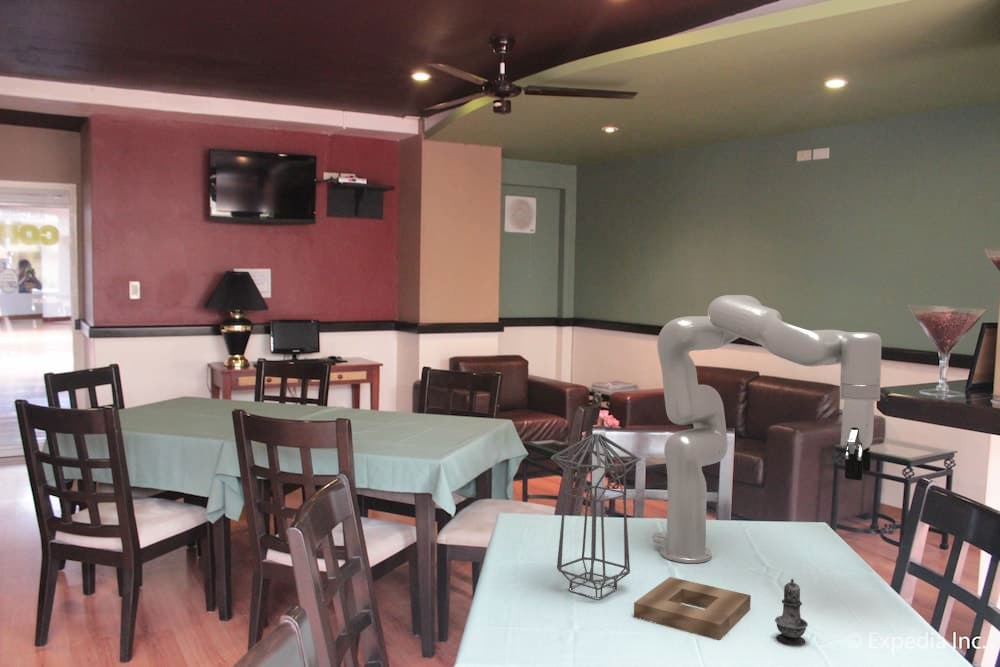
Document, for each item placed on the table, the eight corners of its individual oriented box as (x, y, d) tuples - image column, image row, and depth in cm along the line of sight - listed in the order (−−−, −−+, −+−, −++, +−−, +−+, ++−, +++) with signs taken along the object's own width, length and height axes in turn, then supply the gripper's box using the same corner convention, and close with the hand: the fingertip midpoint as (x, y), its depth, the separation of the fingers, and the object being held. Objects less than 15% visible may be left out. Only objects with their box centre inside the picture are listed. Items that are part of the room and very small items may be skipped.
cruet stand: (633, 617, 162) (634, 602, 162) (669, 590, 177) (669, 576, 177) (719, 639, 152) (720, 624, 152) (750, 609, 166) (750, 595, 166)
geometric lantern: (544, 590, 176) (546, 433, 175) (586, 573, 188) (588, 426, 187) (602, 609, 166) (604, 442, 165) (643, 590, 177) (646, 434, 176)
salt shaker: (769, 633, 155) (770, 573, 154) (798, 633, 155) (800, 572, 154) (782, 647, 149) (784, 584, 148) (812, 646, 149) (814, 583, 149)
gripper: (847, 386, 173) (845, 464, 174) (832, 395, 158) (830, 480, 159) (886, 389, 169) (883, 469, 170) (873, 398, 154) (870, 485, 155)
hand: (857, 474), depth 164 cm, fingers open, 9 cm apart
